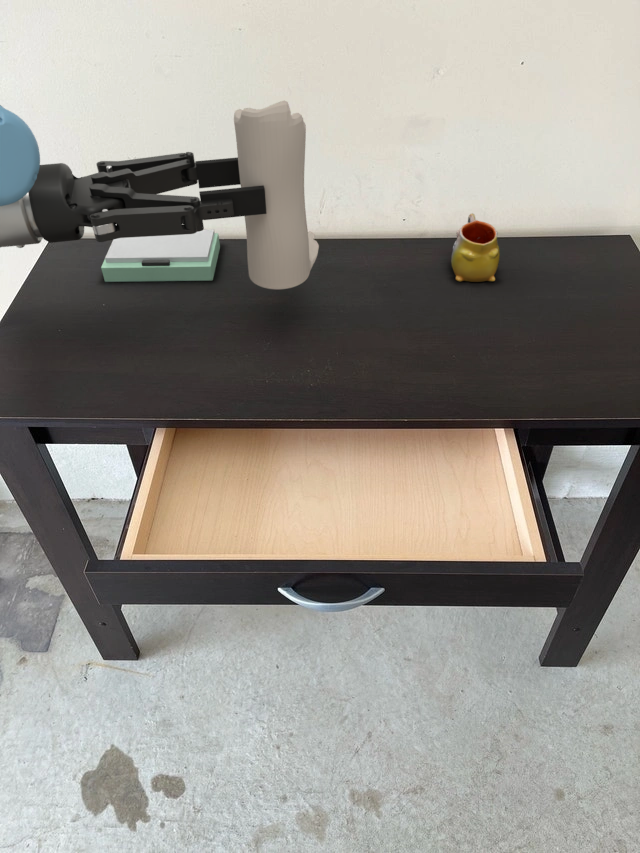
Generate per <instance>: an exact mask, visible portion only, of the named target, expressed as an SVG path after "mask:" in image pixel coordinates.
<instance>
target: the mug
mask: <svg viewBox="0 0 640 853" xmlns="http://www.w3.org/2000/svg"><path fill="white" fill-rule="evenodd" d="M498 235H499V232H498V231H497V229H496V228H495V227H494V226H493V225H492V224H490V223H488V222H485V221H481V220H478V219H476V215H475V213H473V212H472V213H470V214H469V215H468V217H467V223H465V224H463V225H462V226H461V227H460V228H459V229H458V230H457V231H456V239H455V241H454V243H453V246H452V252H451V256H450V265H451V268H452V272H453V273H454V275H455V281H457V282H471V283H482V282H491V283H492V282H496V277H495V274H496V273H497V271H498V268H499V265H500V259H501V258H500V257H501V252H500V245H499V241H498Z"/></svg>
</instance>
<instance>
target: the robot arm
mask: <svg viewBox="0 0 640 853" xmlns="http://www.w3.org/2000/svg"><path fill="white" fill-rule="evenodd" d="M96 169H97V172H95V173H92V174H88V175H84V176H81V177H77V176H75V175H74V174H73V171H72V169H71V168H70V166H69V165H68V164H66V163H64V162H57V163H48V164H47V163H46V164H41V152H40V147H39V143H38V140H37V138H36V136H35V135H34V132H33V131H32V129H31V128H30V126H29V124H27V122H25V120H23V119H22V118H21V117H20V116H19V115H18V114H16V113H14V112H12V111H11V110H9V109H7V108H5V107H4V106H3V105H1V104H0V248H7V247H16V248H18V249H22V248H24V247H25V246H27V245H28V246H30V245H37V244H40V243H41V242H42V240H44V241H45V242H48V243H49V244H53V243H62V242H72V241H80V240H81V239H83V237H84V234H85V228H87V227H88V228H92V231H93V234H94V238H95V241H96V242H98V243H105V242H108V241H113V240H114V239H118V238H128V237H147V236H166V235H184V234H194V233H196V232H199V231H202V230H203V229H204V228H205V227H204V221H209V220H219V219H230V218H238V217H245V216H250V215H260V214H267V213H266V199H265V188H264V185H263V186H252V187H242V188H241V187H233V188H232V187H231V188H221V189H212V190H211V189H210V190H201V191H199V197H198V196H193V195H192V196H191V195H190V196H189V195H176V194H175V195H174V194H173V195H171V194H163V193H167V192H170V191H171V192H172V191H175V190H179V189H182V188H187V187H191V186H194V185H197V184H198V188H199V189H209V188H218V187H230V186H241V184H240V174H239V165H238V156H237V157H228V158H227V157H226V158H215V159H203V160H195V154H194V152H193V151H186V152H179V153H178V152H177V153H171V154H162V155H156V156H148V157H140V158H134V159H126V160H100V161H97V162H96Z"/></svg>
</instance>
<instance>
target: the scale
mask: <svg viewBox="0 0 640 853" xmlns="http://www.w3.org/2000/svg"><path fill="white" fill-rule="evenodd" d="M219 235H220V234H219V233H218V232H215V229H213V228H209V229H203V230H202V231H199V232H196V233H194V234H184V235H166V236H147V237H128V238H118V239H114V240H112V242H111V244H110V245H109V248H108V251H107V253H106V255H105V257H104V260H103V262H102V265H101V267H100V270H101V273H102V276H103V279H104V282H105V283H114V282H116V283H117V282H118V283H121V282H123V283H124V282H126V283H127V282H195V281H196V282H200V281H201V282H203V281H204V282H205V281H209V282H210V281H213V280H214V276H215V273H216V267H217V263H218V259H219V254H220V249H221V242H220V236H219Z"/></svg>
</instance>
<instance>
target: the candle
mask: <svg viewBox="0 0 640 853" xmlns="http://www.w3.org/2000/svg"><path fill="white" fill-rule="evenodd" d="M233 124H234V131H235V142H236V151H237V152H236V153H237V157H238V165H239V174H240V188H242V187H252V186H263V185H264V188H265V199H266V213H267V214H260V215H250V216H244V224H245V231H246V253H247V257H246V258H247V270H248V278H249V279H250V281H251V282H252V283H253V284H254V285H257V286H258V287H261V288H264V289H268V290H286V289H292V288H295V287H297V286H299V285H301V284H304V282H306V280H307V279H308V278H309V276H310V274H311V270H312V269H313V266H314V265H315V262H316V260H317V258H318V256H319V248H320V244H319V243H318V241H317V240H315V237H316V234H315V233H314V232H313V231H310V230H309V229H308V221H307V210H306V201H305V200H306V198H305V166H306V164H305V162H306V139H307V138H306V136H307V135H306V134H307V126H306V122H305V121H304V117H303V115H302V114H301V113H299V112H295V113H292V112H291V107H290V104H289V101H287V100H281V101H277V102H275V103H273V104H270V105H268V106H265V107H263V108H258V109H257V108H252V107H245V108H243V109H241V108H238V109H236V110H234V114H233Z"/></svg>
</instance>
